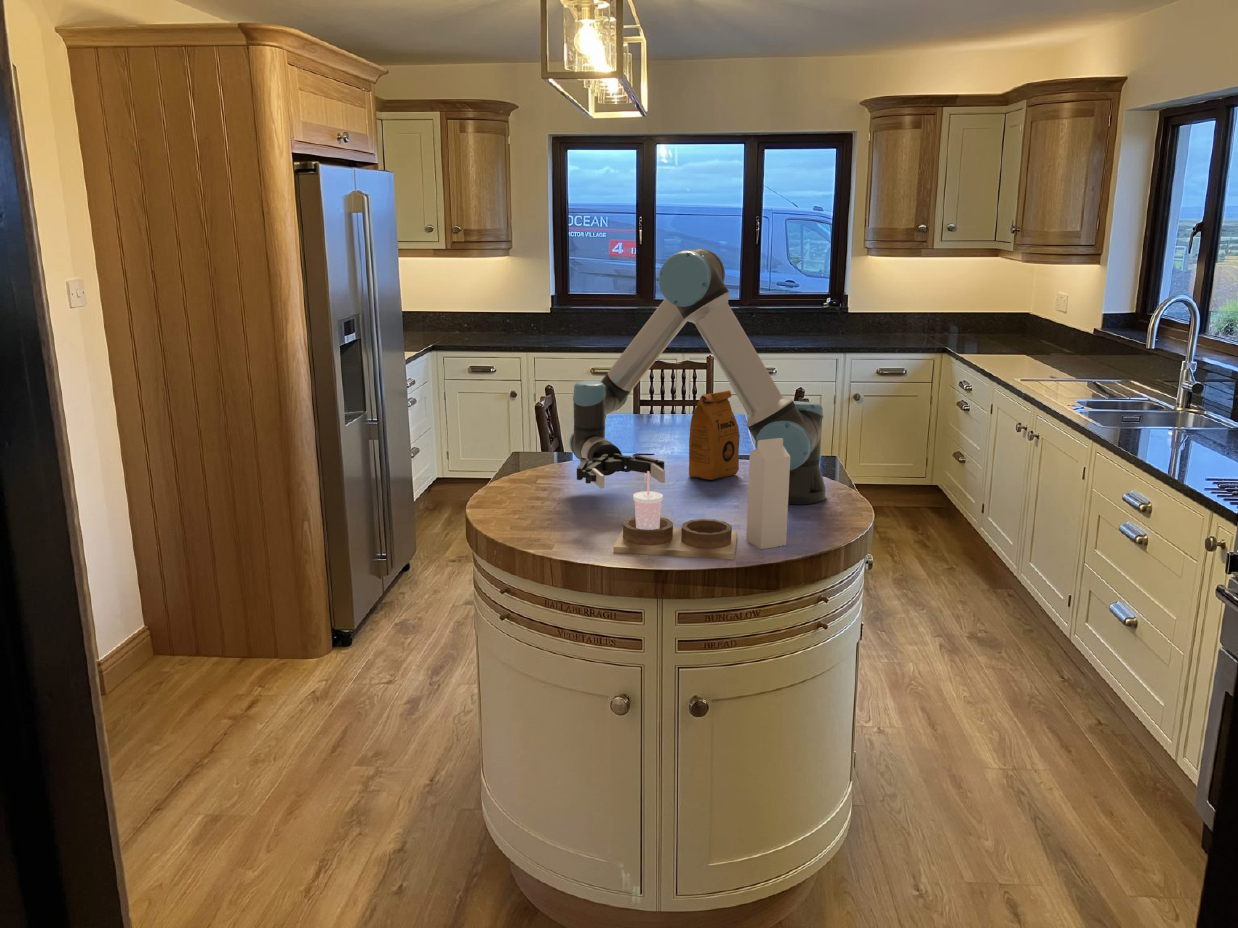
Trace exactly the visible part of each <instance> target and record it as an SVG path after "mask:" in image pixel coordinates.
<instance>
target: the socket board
mask: <svg viewBox="0 0 1238 928" xmlns="http://www.w3.org/2000/svg"><path fill="white" fill-rule="evenodd" d="M681 525H682V526H681V528H680V527H679V528H678V527H674V522H673V521H671V520H670V519H669V518H666V517H661V516H660V527H659V529H653V530H647V529H638V528H636V517H635V516H633V517H630V518H627V519H625V520H624V522H623V523H622V529H621V531H620V533H619V535H618V537H617V539H616V541H615V542H614V546H613V553H618V554H633V555H635V554H636V555H650V556H651V555H653V556H654V555H655V556H670V557H687V558H700V559H701V558H702V559H703V558H704V559H718V560H720V559H721V560H735V557H736V549H737V541H738V531H735V530H732V529H733V526H732V525H731V524H729V523H728V522H727V521H723V520H718V519H715V518H714V519H712V518H698V519H690V520H687V521H685V522H682V524H681Z"/></svg>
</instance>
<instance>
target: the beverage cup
mask: <svg viewBox="0 0 1238 928" xmlns="http://www.w3.org/2000/svg"><path fill="white" fill-rule="evenodd" d="M646 477H647V478H646V480H647V481H646V490H645V491H638V492H635V493H633V498H632V499H633V502H634V515H635V516H634V517H636V528H638V529H647V530H653V529H659V527H660V517H661V513H662V512H661V511H662V501H663V500H664V499H663V498H664V494H662V493H661V492H657V491H651V490H650V479H651V478H650V477H651V474H650V471H647V473H646Z"/></svg>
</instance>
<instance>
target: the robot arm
mask: <svg viewBox="0 0 1238 928" xmlns="http://www.w3.org/2000/svg"><path fill="white" fill-rule="evenodd" d="M725 271H726V270H725V265H724V263H723V261H722V260H721V258H720V257H719V256H718V255H717V254H716V253H715V252H714V251H711V250H709V249H705V248H695V249H683V250H680V251H678V252H676V253H673V254H672V255H670V256H669V257H668V258H667V259H666V260H665V261H664V263H663V264H662V265H661V268H660V271H659V274H658V285H659V286H658V287H659V289H660V292H661V294H662V296H663V298H664V299H663V301H662V302H661V303H660V304H659V306H657V308H656V309H655V310H654V312H653V314H651V316H650V317H649V319H648V320H647V321H646V322H645V324H644V325H643V326H642V328H641V329H640V330H639V331H638V333H637V334H636V335H635V336H634V338H633V339H632V340H631V342H630V343H629V345H628V346H627V347H626V348H625V350H623V352H622V353H621V355H620V356H619V357H618V359H617V360H616V361H615V362H614V364H613V365H612V366H611V367H610V369H609V370H608V372H607V373H606V374H605V375H604V376H603V377H602V379H601V381H599V380H583V381H578V382H576V383H575V384H574V385H573V395H572V401H573V433H572V434H571V435H570V437H569V440H568V441H569V443H568V444H569V448H570V451H571V452H572V453H573V455H574V456H575V457H576V459H578V460H579V461H580V463H579V464H578V465H577V467H576V481H582V480H583V479H585V484H591V483H594V484H595V485H596V486H597V487H599V488H600V489H605V477H607V476H611V475H613V474H615V473H619V472H622V473H623V472H624V473H630V472H637V473H644V474H647V471H650V477H652V478H653V479H655V480H656V481H658V482H659V483H661V484H665V481H666V477H665V476H666V470H665V461H663V460H659V459H655V458H652V457H651V458H650V457H646V456H642V455H639V454H637V453H633V454H632V456H628V455H623V454H622V452H621V449H619V448H618V447H617V446H616V445H615V444H613V443H612V442H611V441H609V440H608V439H606V416H607V415H609V414H611V413H612V412H614V411H615V412H616V411H618V410H620V409H621V408H622V407H623V406H624V405H625V403H627V401H628V396H629V395H630V394H631V392H632V391H633V390H634V389H635V388H636V386H637V385H638V383H639V382H640V381H641V380H642V378H643V377H644V375H646V373H647V372H648V371H649V369H650V368H651V367H652V366H653V365H654V364H655V362H656V361H657V359H659V357H660V355H662V353H663V352H664V351H665V350H666V348H667V347H668V346H669V345H670V343H671V342H672V341H673V340H674V338H676V336H677V335H678V333H679V332H680V331H681V330H682V328H684V327H685V325H686V324H687V322H689V323H693V324H694V325H695V327H696V329H697V330H698V332H699V334H700V335H701V337H702V339H703V340H704V342H705V345H706V346H707V347H708V349H709V350H710V352H711V354H712V356H713V358H714V359H715V361H716V363H717V364H718V366H719V367H720V370H721V371H722V373H723V374H724V376H725V378H726V379H727V381H728V382H729V385H730V386H731V388H732V390H733V392H734V393H735V395H736V397H737V399H738V400H739V401H740V404H741V405H742V407H743V409H744V410H745V412H746V414H747V417H748V418H747V421H746V422H747V423H746V428H747V429H748V430H749V432H750V434H751V436H752V437H753V440H754V442H755V447H754V448H755V449H756V448H757V445H758V441H759V440H767V439H777V438H783V446H784V448H785V449H786V451H787V452H788V454H789V455H790V473H789V493H788V505H812V504H817V503H820V502H823V501H824V500H826V493H827V488H826V484H825V480H824V477H823V474H822V471H821V470H822V469H821V463H820V462H821V451H822V450H821V446H822V431H823V430H822V429H823V419H824V414H823V413H824V412H823V409H824V408H823V406H822V404H820V403H817V402H811V401H797V400H795V401H794V400H793V399H792V398H790V397H789V398H788V397H786V396H784V395H782V393H781V392H780V389H779V388H778V387H777V385H776V383H775V382H774V379H773V378H772V376H771V375H770V372H769V371H768V370H767V367H766V366H765V364H764V363H763V360H762V359H761V357H760V356H759V354H758V353H757V351H756V349H755V347H754V345H753V344H752V342H751V340H750V338H749V337H748V335H747V334H746V332H745V330H744V328H743V327H742V325H741V323H740V321H739V320H738V318H737V317H736V315H735V312H734V311H733V309H732V308H731V306H730V305H729V298H730V295H731V293H730V291H729V289H728V288H727V286H726V283H725V278H726V272H725Z"/></svg>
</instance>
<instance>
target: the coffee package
mask: <svg viewBox="0 0 1238 928" xmlns="http://www.w3.org/2000/svg"><path fill="white" fill-rule="evenodd" d="M731 397H732V392H731V390H729V389H728V390H726V391H725V390H724V391H718V392H715V393H714V392H713V393H707V394H703V395H700V397H699V400H698V402H697V404H696V406H695V408H694V409H693V413H692V415H691V420H690V425H689V438H688V439H689V441H688V476H689V477H691V478H698V479H704V480H710V481H711V480H716V479H720V478H728V477H730V476H734V475H737V474H738V471H739V470H740V468H739V467H740V465H739V463H740V457H739V456H740V455H739V453H740V449H739V448H740V439H741V437H740V436H741V435H740V429H739V428H740V427H739V425H738V424H739V423H738V422H737V419H736V416H735V414H734V412H733V410H732V405H731V403H730V400H729V398H731Z"/></svg>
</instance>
